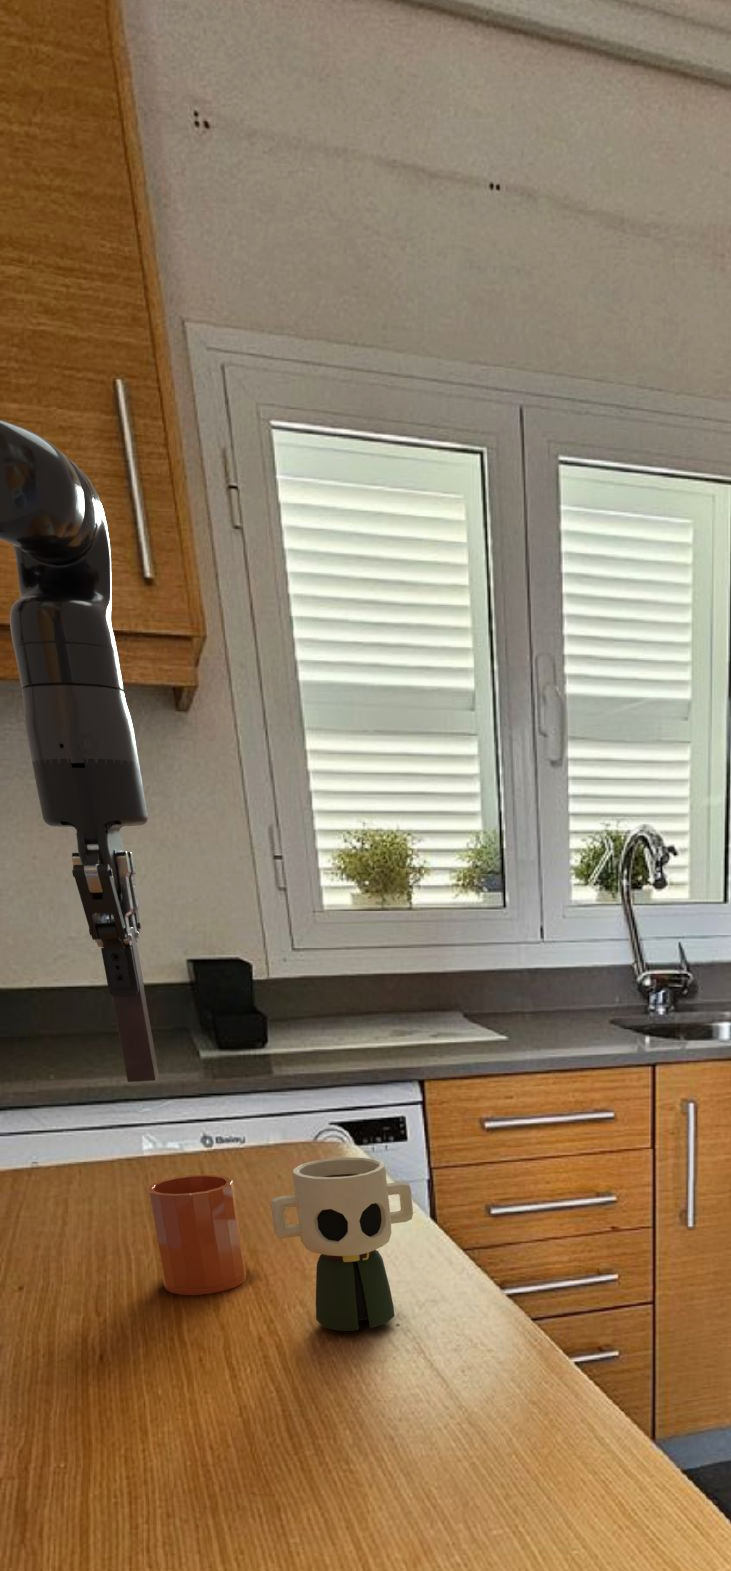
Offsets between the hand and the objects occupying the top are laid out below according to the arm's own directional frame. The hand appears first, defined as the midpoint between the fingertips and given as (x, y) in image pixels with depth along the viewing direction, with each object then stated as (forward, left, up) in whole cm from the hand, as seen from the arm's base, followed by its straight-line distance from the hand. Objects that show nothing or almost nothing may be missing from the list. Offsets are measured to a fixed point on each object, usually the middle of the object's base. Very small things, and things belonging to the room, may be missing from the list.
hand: (127, 992), depth 97 cm
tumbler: (+2, +1, -25) cm, 25 cm away
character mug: (+20, -6, -25) cm, 33 cm away
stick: (0, 0, -7) cm, 7 cm away
